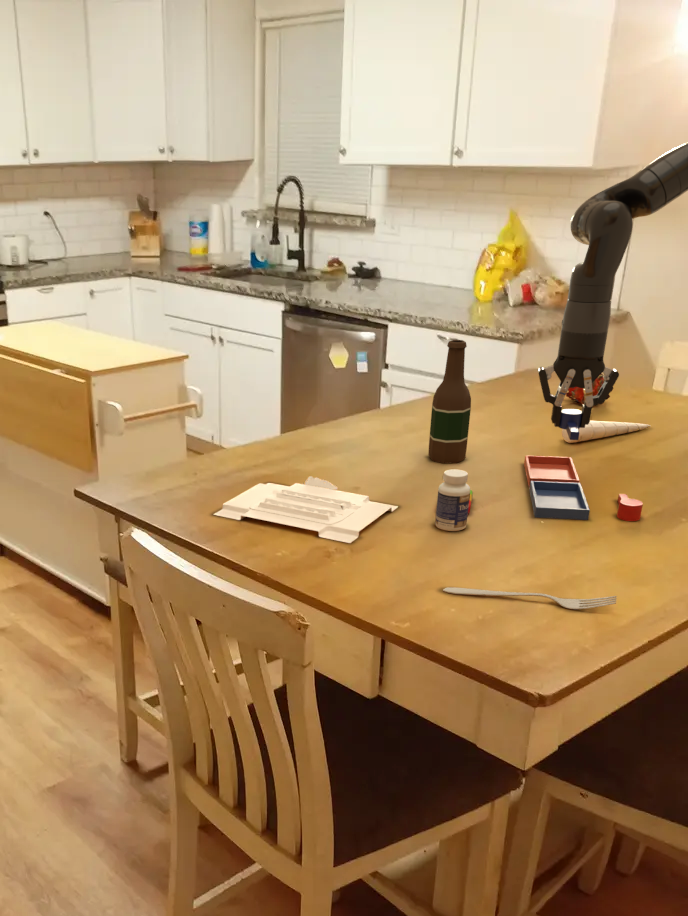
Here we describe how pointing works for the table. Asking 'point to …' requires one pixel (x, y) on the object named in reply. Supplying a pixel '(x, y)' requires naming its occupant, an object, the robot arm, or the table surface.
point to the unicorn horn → (603, 430)
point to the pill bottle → (453, 501)
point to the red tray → (550, 469)
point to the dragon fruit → (579, 392)
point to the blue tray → (558, 500)
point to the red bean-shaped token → (629, 508)
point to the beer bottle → (451, 410)
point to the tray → (307, 508)
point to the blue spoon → (571, 422)
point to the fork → (563, 602)
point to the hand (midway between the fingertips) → (569, 425)
